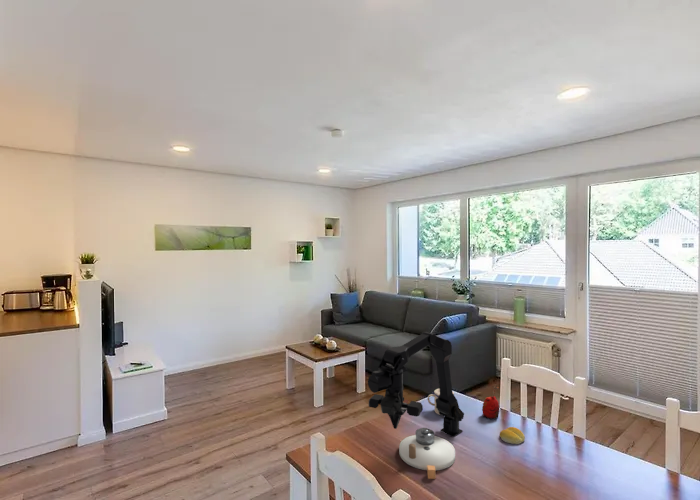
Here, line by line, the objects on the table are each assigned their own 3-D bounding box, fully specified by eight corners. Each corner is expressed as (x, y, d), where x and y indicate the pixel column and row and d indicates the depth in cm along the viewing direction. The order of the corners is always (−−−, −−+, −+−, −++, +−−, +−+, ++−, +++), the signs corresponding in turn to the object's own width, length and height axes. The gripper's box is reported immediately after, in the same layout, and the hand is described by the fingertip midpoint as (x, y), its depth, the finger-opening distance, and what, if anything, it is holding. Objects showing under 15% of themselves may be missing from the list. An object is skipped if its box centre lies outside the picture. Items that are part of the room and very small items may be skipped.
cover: (423, 433, 147) (423, 423, 146) (438, 440, 141) (438, 429, 141) (411, 440, 142) (411, 429, 142) (426, 447, 137) (426, 436, 137)
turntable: (422, 434, 150) (422, 419, 150) (466, 455, 135) (466, 438, 135) (388, 452, 137) (387, 436, 137) (432, 478, 122) (431, 460, 122)
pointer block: (427, 474, 125) (427, 465, 125) (434, 474, 125) (434, 465, 125) (428, 478, 123) (428, 469, 123) (435, 478, 122) (435, 469, 122)
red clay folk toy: (489, 411, 170) (489, 379, 170) (503, 417, 164) (503, 383, 164) (478, 416, 166) (478, 382, 166) (492, 422, 160) (492, 387, 160)
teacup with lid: (455, 408, 173) (454, 384, 173) (453, 417, 165) (453, 391, 165) (429, 405, 178) (428, 381, 177) (426, 413, 169) (425, 388, 169)
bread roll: (495, 438, 148) (495, 428, 148) (510, 431, 152) (510, 422, 152) (514, 447, 140) (514, 437, 140) (528, 441, 145) (528, 430, 145)
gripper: (361, 388, 131) (362, 433, 131) (412, 398, 122) (413, 445, 122) (374, 378, 140) (375, 419, 141) (422, 386, 132) (423, 430, 132)
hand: (395, 428), depth 134 cm, fingers closed
